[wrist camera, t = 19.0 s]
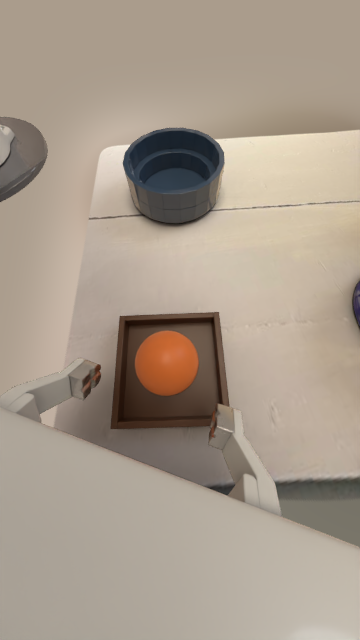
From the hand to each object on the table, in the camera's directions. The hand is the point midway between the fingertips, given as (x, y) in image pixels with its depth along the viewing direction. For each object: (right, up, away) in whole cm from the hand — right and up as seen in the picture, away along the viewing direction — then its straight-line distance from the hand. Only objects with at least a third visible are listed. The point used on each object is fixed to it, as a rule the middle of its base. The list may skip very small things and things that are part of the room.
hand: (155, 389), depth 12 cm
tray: (+1, -1, +9) cm, 9 cm away
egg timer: (+1, -1, +8) cm, 8 cm away
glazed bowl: (+1, +26, +18) cm, 31 cm away
